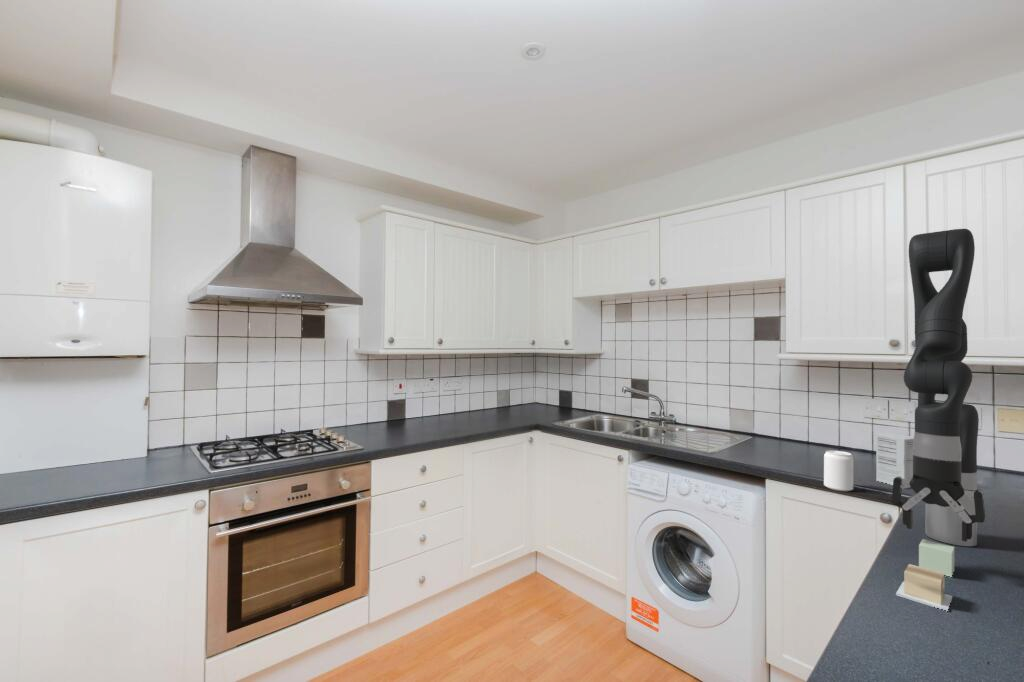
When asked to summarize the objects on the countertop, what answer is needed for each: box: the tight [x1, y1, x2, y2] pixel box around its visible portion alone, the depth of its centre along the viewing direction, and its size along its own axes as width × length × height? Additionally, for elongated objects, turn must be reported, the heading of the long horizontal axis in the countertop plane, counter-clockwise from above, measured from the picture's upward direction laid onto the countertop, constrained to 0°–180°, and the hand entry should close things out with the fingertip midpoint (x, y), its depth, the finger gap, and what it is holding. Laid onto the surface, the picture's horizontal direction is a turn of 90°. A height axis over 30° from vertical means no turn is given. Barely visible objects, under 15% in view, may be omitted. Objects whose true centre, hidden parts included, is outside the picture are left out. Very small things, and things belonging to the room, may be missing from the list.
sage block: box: [918, 538, 955, 578], centre depth 97 cm, size 5×5×5 cm
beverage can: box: [823, 449, 854, 492], centre depth 156 cm, size 8×8×12 cm
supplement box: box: [875, 433, 914, 489], centre depth 164 cm, size 10×9×17 cm
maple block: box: [903, 563, 945, 605], centre depth 86 cm, size 5×5×4 cm
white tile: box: [895, 580, 953, 612], centre depth 85 cm, size 7×7×1 cm
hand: (936, 534), depth 97 cm, fingers open, 8 cm apart
